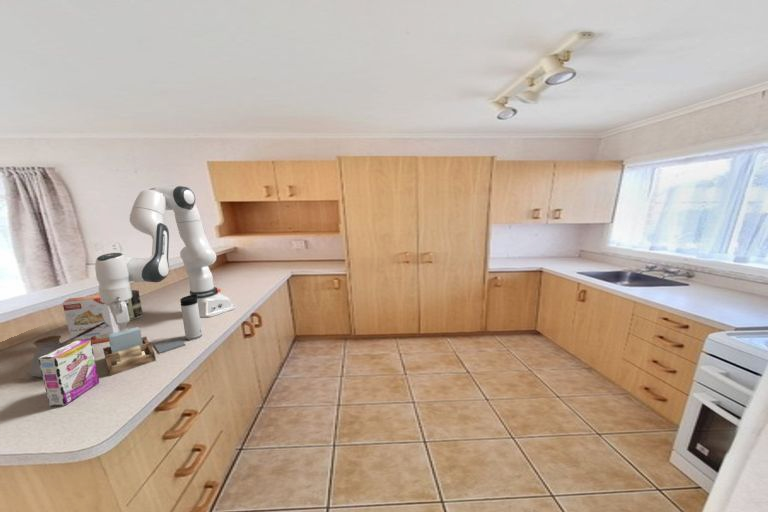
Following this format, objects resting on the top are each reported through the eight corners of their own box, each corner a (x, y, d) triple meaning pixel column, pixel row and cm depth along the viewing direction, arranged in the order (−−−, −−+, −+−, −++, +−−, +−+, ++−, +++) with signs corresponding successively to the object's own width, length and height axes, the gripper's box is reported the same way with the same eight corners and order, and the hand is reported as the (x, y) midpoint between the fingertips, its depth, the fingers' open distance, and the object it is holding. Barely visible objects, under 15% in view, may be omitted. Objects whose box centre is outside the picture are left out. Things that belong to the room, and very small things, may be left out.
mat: (179, 338, 124) (179, 337, 124) (185, 345, 118) (185, 344, 118) (154, 345, 118) (154, 344, 118) (159, 353, 111) (159, 352, 111)
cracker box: (71, 348, 116) (60, 302, 112) (79, 341, 121) (69, 297, 117) (115, 340, 122) (106, 297, 118) (120, 335, 127) (112, 293, 123)
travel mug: (205, 335, 127) (200, 295, 123) (191, 341, 121) (184, 299, 118) (197, 332, 130) (192, 293, 126) (182, 338, 124) (176, 297, 120)
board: (142, 350, 114) (138, 326, 112) (144, 354, 111) (140, 329, 109) (113, 359, 107) (107, 334, 105) (114, 363, 104) (108, 337, 102)
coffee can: (139, 312, 154) (135, 288, 152) (146, 316, 149) (141, 292, 146) (115, 318, 146) (110, 293, 143) (121, 323, 140) (116, 297, 138)
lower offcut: (145, 358, 108) (143, 350, 108) (147, 362, 106) (145, 354, 105) (117, 367, 102) (116, 359, 102) (118, 371, 100) (117, 363, 99)
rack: (147, 346, 117) (146, 336, 116) (155, 360, 107) (153, 348, 106) (105, 359, 107) (103, 348, 106) (109, 375, 97) (107, 363, 96)
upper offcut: (140, 352, 107) (138, 345, 106) (141, 354, 105) (140, 347, 104) (119, 358, 102) (117, 351, 101) (120, 361, 100) (119, 354, 99)
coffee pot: (26, 385, 92) (14, 345, 89) (34, 370, 100) (24, 333, 97) (113, 361, 106) (106, 326, 103) (114, 349, 114) (107, 317, 111)
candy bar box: (66, 406, 82) (54, 357, 79) (49, 407, 82) (36, 358, 79) (101, 382, 93) (91, 339, 90) (85, 383, 93) (75, 339, 90)
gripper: (131, 299, 100) (136, 333, 102) (124, 288, 113) (129, 319, 115) (107, 303, 95) (113, 339, 97) (102, 291, 108) (108, 323, 110)
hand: (122, 328), depth 106 cm, fingers open, 8 cm apart
